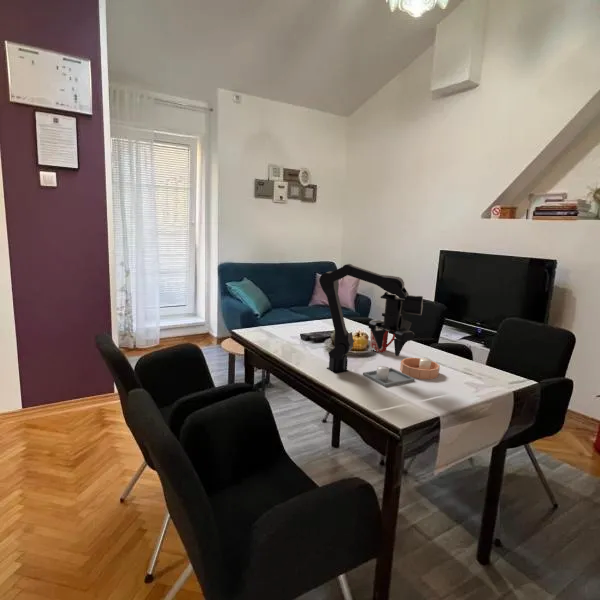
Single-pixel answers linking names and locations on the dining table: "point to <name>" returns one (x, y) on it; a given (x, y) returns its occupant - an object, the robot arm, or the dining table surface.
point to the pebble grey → (382, 373)
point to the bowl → (412, 369)
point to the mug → (384, 344)
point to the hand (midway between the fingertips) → (388, 352)
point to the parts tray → (390, 377)
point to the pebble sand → (425, 364)
